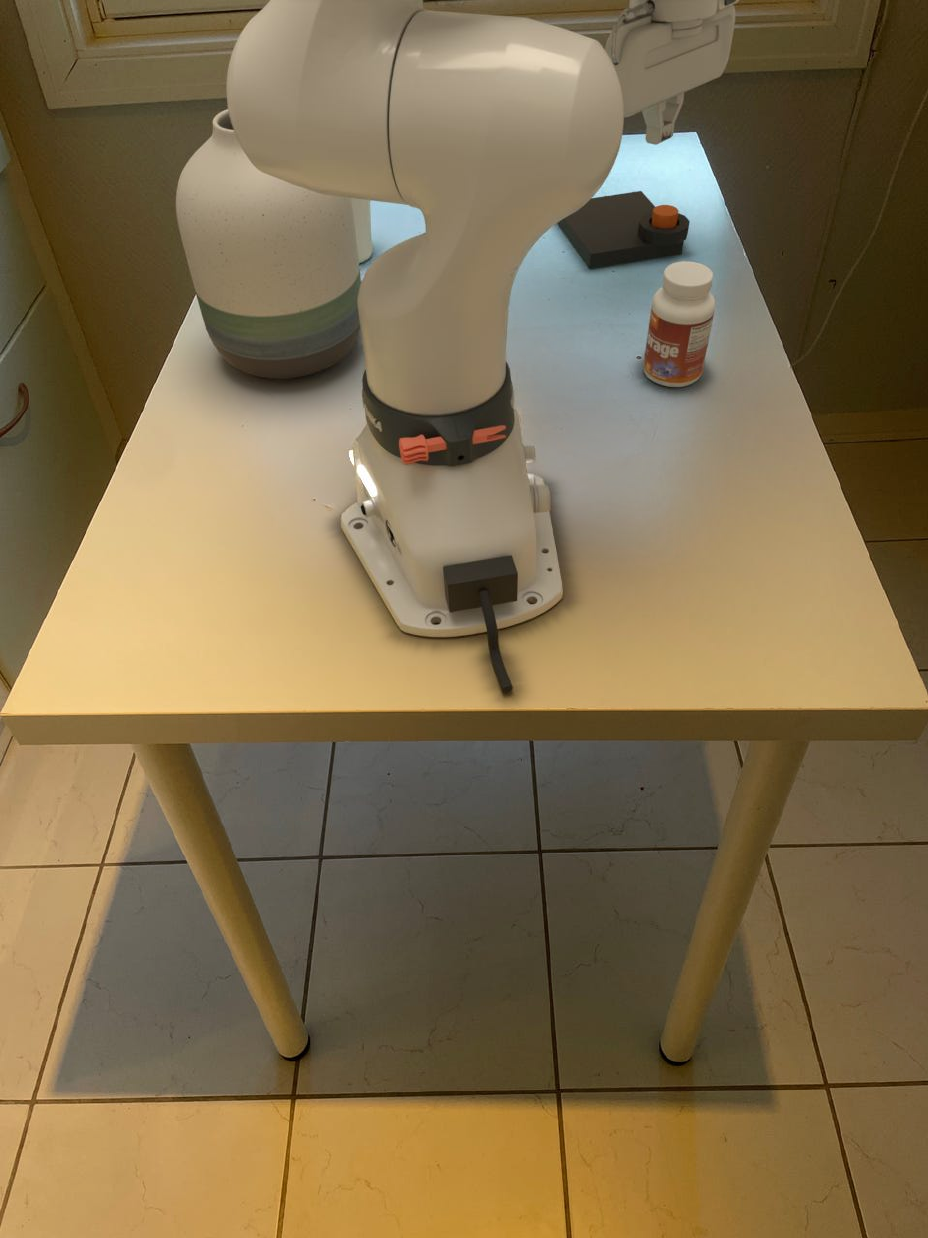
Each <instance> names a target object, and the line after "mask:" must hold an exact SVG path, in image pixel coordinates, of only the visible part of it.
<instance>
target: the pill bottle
mask: <svg viewBox="0 0 928 1238" xmlns="http://www.w3.org/2000/svg"><path fill="white" fill-rule="evenodd" d="M713 280H714V273H713V270H711V268H709V267H708V266H706V265H705V264H702V263H700V262H696V261H683V260H682V261H676V262H673V263H671V264H669V265H668V266H667V267H665V268H664V271H663V274H662V280H661V285H662V286H661V287H660V288H659V289H658V290H657V291H656V292H655V293H654V295H653V297H652V300H651V301H652V302H651V307H650V313H649V314H650V315H649V322H648V327H647V329H648V330H647V336H646V343H645V350H644V356H643V364H642V369H643V372H644V375H645V376H646V378H648V379H649V380H651V381H652V382H653V383H656V384H657V385H661V386H664V387H670V388H683V387H687V386H690V385H693V384H694V383H695V382H697V381H698V380H699V379H700V378H701V376H702V374H703V370H704V367H705V360H706V358H707V357H706V356H707V352H708V346H709V342H710V336H711V331H712V326H713V322H714V316H715V312H716V299H715V296H714V295H713V293H712V292H711V290H712V287H713Z"/></svg>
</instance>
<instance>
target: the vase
mask: <svg viewBox="0 0 928 1238" xmlns="http://www.w3.org/2000/svg"><path fill="white" fill-rule="evenodd" d="M175 193H176V194H175V214H176V219H177V220H176V221H177V226H178V230H179V235H180V239H181V243H182V245H183V250H184V254H185V258H186V262H187V266H188V269H189V273H190V277H191V281H192V285H193V288H194V291H195V295H196V299H197V303H198V306H199V309H200V313H201V317H202V320H203V324H204V326H205V330H206V332H207V334H208V337H209V339H210V341H211V342H212V344H213V347H215V349H216V350H217V352H218V353H219V354H220V356H222V358H223V359H224V360H225V361H226V362H228V364H230V366H231V365H232V367H234V368H236V369H237V370H240V371H241V372H244V373H246V374H248V375H251V376H254V377H255V376H256V377H261V378H266V379H295V378H300V377H305V376H309V375H313V374H316V373H319V372H321V371H324V370H325V369H328V368H330V367H331V366H334V365H335V364H337V363H338V362H340V361H341V360H342V359H343V358H344V357H345V356H347V354H349V352H350V351H351V350H352V349H353V348H354V346H355V344H356V342H357V340H358V339H359V335H360V334H361V329H360V321H359V313H358V305H357V299H358V293H359V288H360V285H361V282H362V277H361V276H362V275H361V268H360V263H359V258H358V250H357V241H356V233H355V224H354V216H353V209H352V202H351V198H348V197H339V196H331V195H323V194H320V193H317V192H314V191H311V190H308V189H305V188H302V187H299V186H296V185H293V184H291V183H288V182H286V181H283V180H281V179H278V178H275V177H273V176H270V175H268V174H265V173H263V172H261V171H260V170H258V169H257V168H256V167H255V166H254V165H253V164H252V163H251V162H250V160H249V159H248V157H247V156H246V154H245V153H244V151H243V149H242V147H241V146H240V144H239V142H238V139H237V137H236V135H235V133H234V130H233V127H232V123H231V120H230V116H229V111H228V108H227V109H225V110H223V111H220V112H219V113H217V114H216V115H215V116H214V117H213V119H212V133H211V136H210V137H209V138H208V139H207V140H206V141H205V142H204V143H203V144H202V145H201V146H200V147H199V148H198V149H197V150H196V151H195V152H194V153H193V155H192V156H191V157H190V158H189V159H188V161H187V162H186V164H185V165H184V167H183V169H182V171H181V173H180V175H179V179H178V182H177V186H176V192H175Z"/></svg>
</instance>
